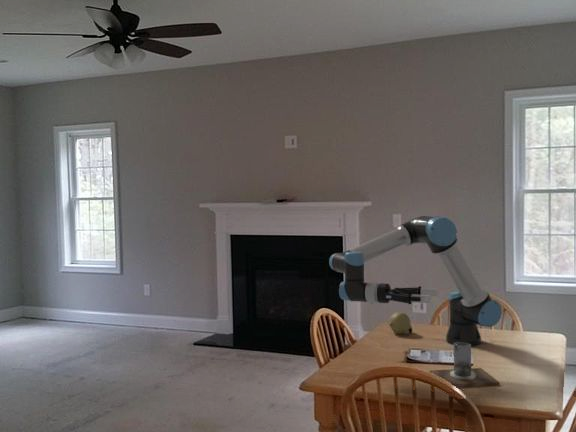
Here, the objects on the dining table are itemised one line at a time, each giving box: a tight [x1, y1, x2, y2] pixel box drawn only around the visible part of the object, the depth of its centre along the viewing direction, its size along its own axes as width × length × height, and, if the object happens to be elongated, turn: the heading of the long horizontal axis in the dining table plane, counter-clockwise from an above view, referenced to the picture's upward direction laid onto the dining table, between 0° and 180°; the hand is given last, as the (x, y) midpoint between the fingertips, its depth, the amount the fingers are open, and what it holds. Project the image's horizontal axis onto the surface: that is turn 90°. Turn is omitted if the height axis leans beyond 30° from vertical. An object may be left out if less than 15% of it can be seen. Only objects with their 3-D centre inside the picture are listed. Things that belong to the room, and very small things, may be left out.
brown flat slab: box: [428, 367, 500, 389], centre depth 201 cm, size 20×16×2 cm
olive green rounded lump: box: [387, 311, 413, 335], centre depth 268 cm, size 10×12×11 cm
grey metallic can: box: [453, 341, 472, 377], centre depth 200 cm, size 6×6×11 cm
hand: (434, 296), depth 204 cm, fingers open, 13 cm apart
